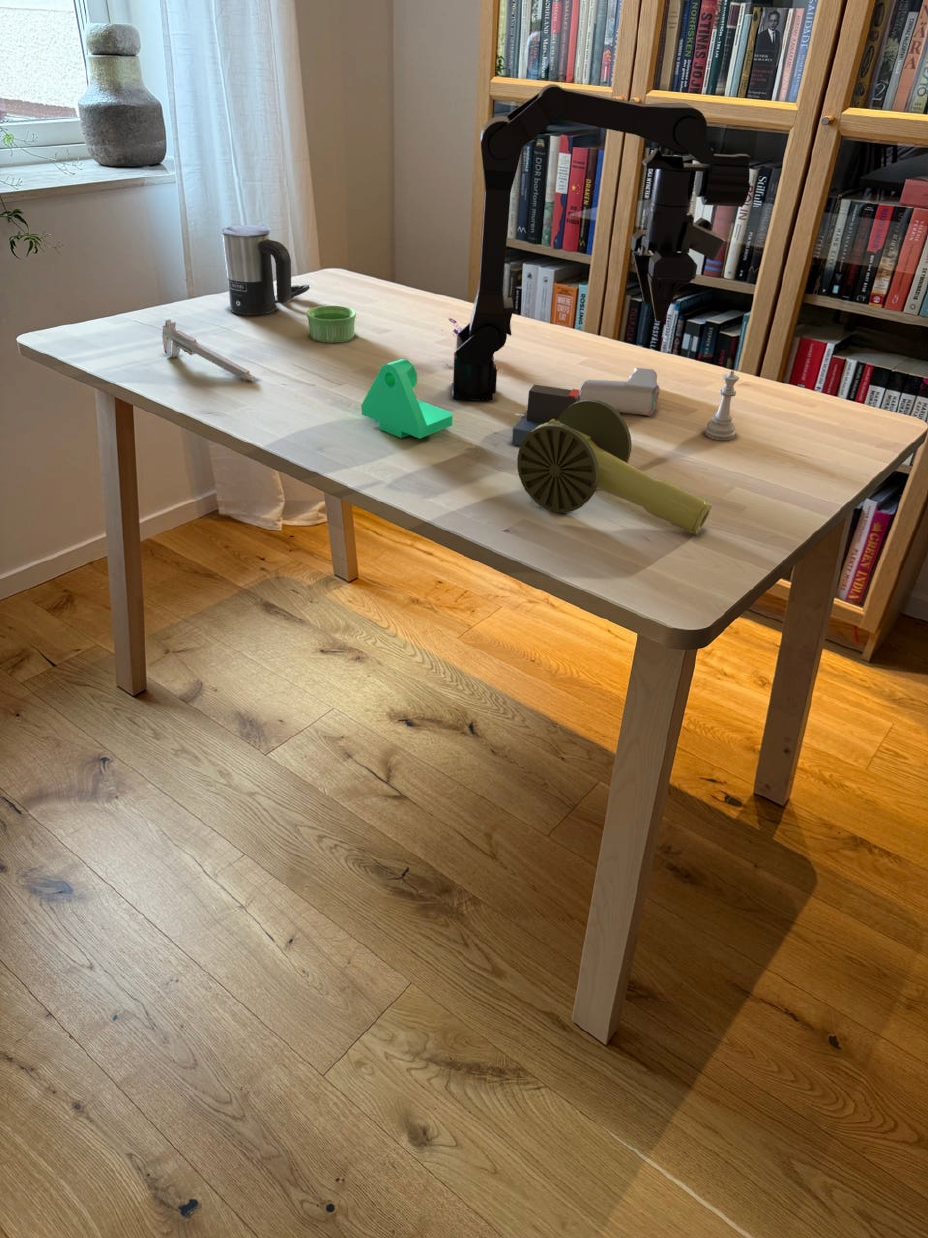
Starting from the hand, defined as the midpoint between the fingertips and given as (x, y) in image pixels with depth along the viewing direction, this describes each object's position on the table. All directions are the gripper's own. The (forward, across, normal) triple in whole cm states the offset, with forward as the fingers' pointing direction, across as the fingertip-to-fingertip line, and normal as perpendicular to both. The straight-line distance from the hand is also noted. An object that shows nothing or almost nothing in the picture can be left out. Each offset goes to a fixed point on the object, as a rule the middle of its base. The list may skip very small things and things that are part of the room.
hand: (653, 311), depth 145 cm
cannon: (+15, -38, +11) cm, 42 cm away
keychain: (+12, +20, +28) cm, 36 cm away
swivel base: (+14, -16, +15) cm, 26 cm away
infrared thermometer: (+14, +1, +3) cm, 15 cm away
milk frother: (+15, +46, +66) cm, 82 cm away
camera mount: (+15, -13, +37) cm, 42 cm away
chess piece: (+14, -13, -10) cm, 22 cm away
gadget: (+12, -16, +16) cm, 25 cm away
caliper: (+15, +10, +71) cm, 73 cm away
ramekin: (+15, +28, +52) cm, 61 cm away
